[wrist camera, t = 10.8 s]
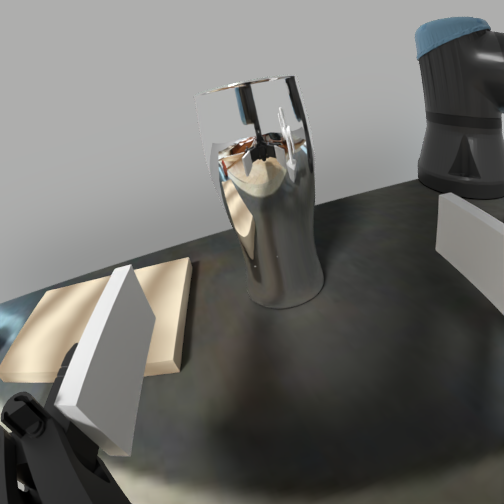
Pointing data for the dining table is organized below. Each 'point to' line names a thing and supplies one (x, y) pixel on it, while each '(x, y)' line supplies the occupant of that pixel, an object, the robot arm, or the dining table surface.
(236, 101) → the beer glass
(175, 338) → the birch board
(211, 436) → the dining table surface
